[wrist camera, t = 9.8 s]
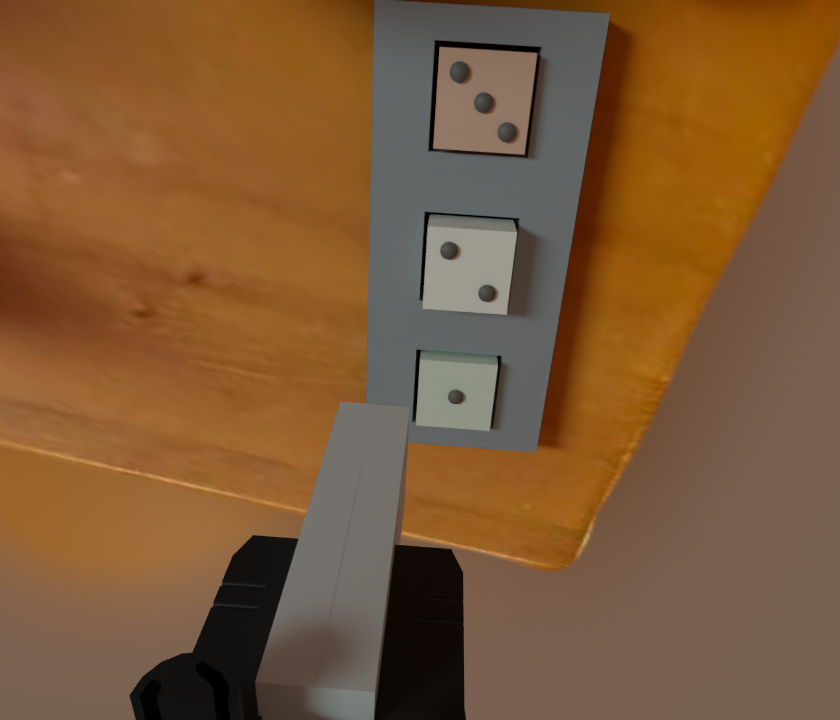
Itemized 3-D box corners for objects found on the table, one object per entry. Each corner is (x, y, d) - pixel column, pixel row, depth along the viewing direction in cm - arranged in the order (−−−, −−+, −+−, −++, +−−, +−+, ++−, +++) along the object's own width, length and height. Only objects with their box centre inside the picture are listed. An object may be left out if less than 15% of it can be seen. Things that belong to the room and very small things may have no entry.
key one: (488, 410, 45) (489, 432, 43) (418, 404, 46) (415, 426, 43) (495, 347, 43) (498, 366, 41) (422, 341, 43) (419, 360, 41)
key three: (520, 147, 37) (524, 155, 35) (435, 141, 37) (433, 149, 35) (531, 52, 35) (537, 53, 32) (441, 46, 35) (439, 47, 33)
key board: (532, 432, 47) (536, 452, 45) (369, 420, 47) (365, 439, 45) (600, 14, 35) (610, 13, 32) (379, 1, 35) (374, -1, 33)
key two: (503, 298, 40) (506, 316, 38) (424, 292, 40) (422, 309, 38) (513, 219, 38) (517, 233, 35) (429, 214, 38) (427, 227, 36)
